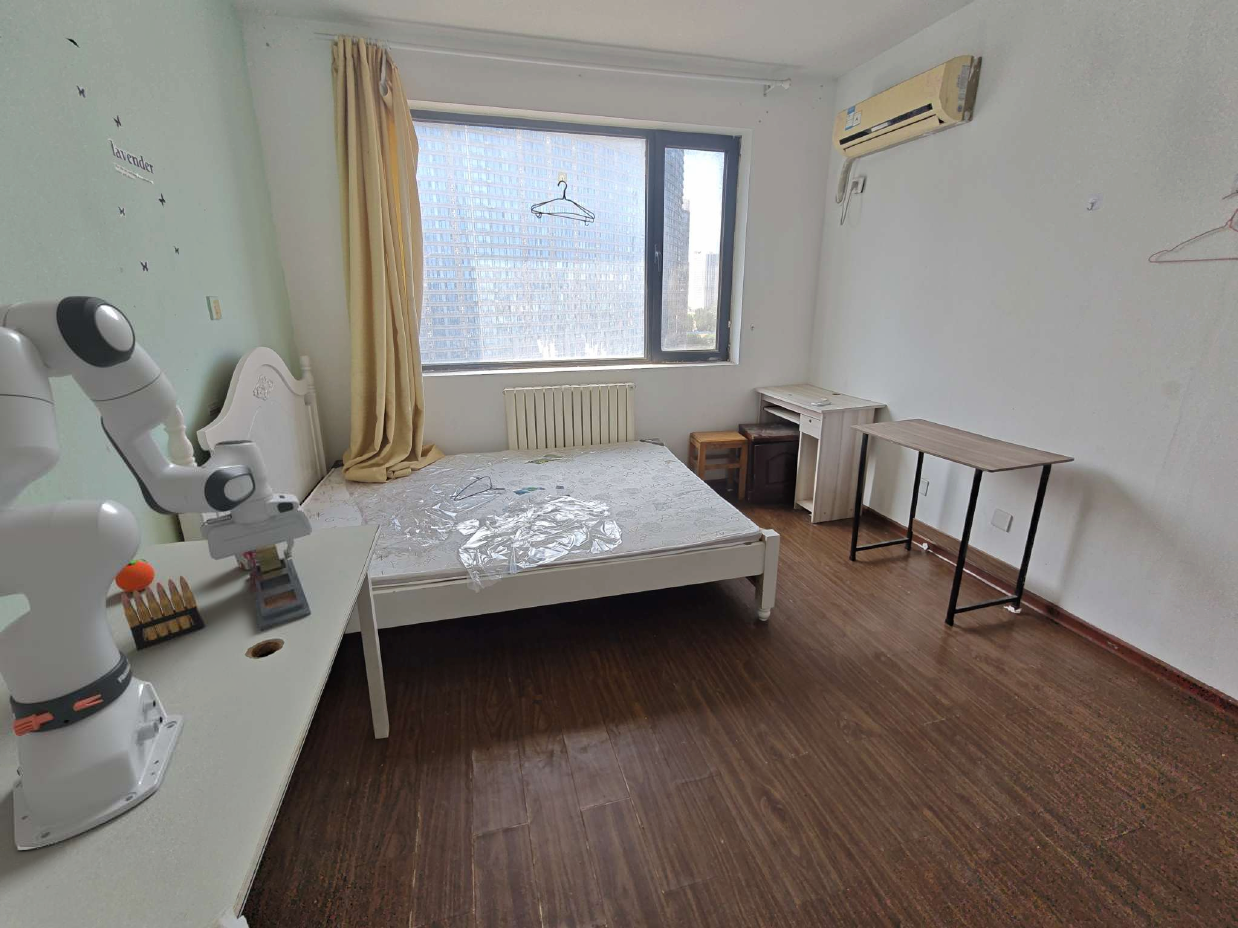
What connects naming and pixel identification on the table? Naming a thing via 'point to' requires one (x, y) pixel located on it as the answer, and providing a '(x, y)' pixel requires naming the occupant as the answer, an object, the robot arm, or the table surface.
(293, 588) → the slotted tray
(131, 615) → the ammunition clip
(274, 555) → the tan rectangular block
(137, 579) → the clementine
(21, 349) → the robot arm
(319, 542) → the table surface
